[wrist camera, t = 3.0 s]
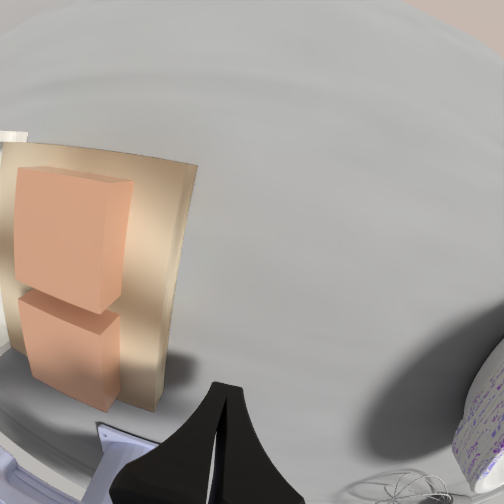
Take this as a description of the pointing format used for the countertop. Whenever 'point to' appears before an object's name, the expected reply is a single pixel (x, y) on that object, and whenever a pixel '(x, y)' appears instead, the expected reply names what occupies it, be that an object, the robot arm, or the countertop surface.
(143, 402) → the oak board
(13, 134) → the bin
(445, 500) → the kitchen whisk
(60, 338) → the terracotta tile
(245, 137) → the countertop surface
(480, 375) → the white purple patterned bowl
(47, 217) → the terracotta tile
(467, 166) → the countertop surface
